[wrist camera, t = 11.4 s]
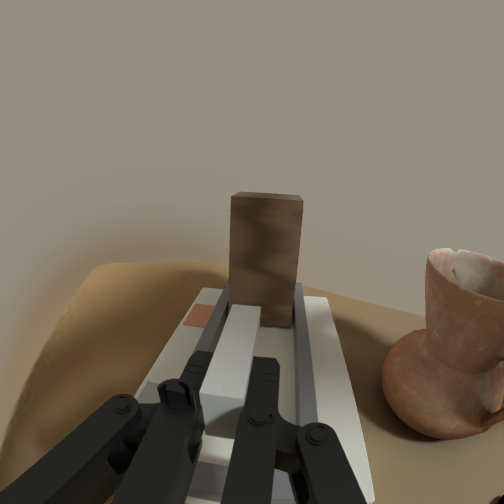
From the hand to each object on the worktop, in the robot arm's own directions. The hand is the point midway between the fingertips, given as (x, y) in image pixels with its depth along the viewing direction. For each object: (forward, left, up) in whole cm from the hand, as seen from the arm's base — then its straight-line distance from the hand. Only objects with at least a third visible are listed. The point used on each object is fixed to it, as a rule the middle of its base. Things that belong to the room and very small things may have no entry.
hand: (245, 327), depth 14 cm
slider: (0, -17, -9) cm, 19 cm away
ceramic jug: (-19, -3, -11) cm, 22 cm away
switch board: (0, -8, -11) cm, 13 cm away
